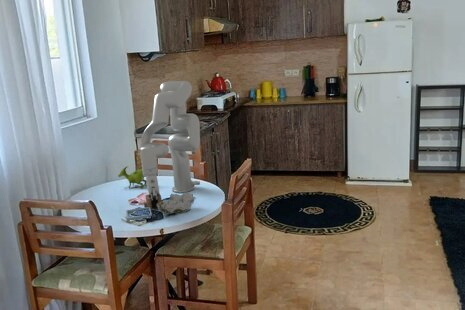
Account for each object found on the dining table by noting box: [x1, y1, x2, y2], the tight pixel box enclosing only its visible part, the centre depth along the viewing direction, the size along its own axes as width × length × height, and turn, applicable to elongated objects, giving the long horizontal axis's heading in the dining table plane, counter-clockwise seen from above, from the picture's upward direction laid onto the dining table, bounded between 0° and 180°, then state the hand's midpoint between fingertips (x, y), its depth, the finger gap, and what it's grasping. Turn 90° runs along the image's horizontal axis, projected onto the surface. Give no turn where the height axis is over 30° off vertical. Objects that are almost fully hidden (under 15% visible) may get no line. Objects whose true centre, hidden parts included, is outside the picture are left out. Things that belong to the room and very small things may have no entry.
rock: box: [157, 192, 195, 215], centre depth 221 cm, size 19×11×10 cm, turn 130°
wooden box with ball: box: [143, 192, 163, 211], centre depth 229 cm, size 8×7×6 cm
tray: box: [125, 207, 153, 223], centre depth 218 cm, size 12×12×2 cm
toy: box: [117, 166, 147, 189], centre depth 267 cm, size 8×21×15 cm, turn 82°
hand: (154, 205), depth 230 cm, fingers closed on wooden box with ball, 7 cm apart
